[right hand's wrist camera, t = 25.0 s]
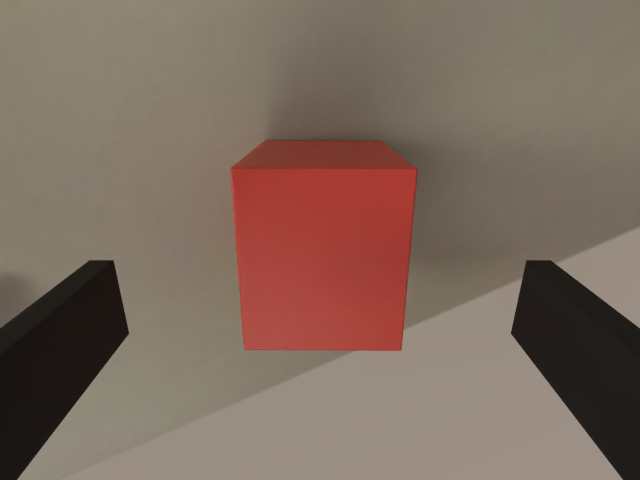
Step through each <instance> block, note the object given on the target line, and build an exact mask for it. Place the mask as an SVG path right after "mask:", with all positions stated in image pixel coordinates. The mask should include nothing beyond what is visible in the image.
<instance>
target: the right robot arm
mask: <svg viewBox="0 0 640 480" xmlns="http://www.w3.org/2000/svg"><path fill="white" fill-rule="evenodd" d="M128 334H129V331H128V326H127V322H126V317H125V312H124V308H123V303H122V298H121V293H120V289H119V284H118V279H117V275H116V270H115V265H114V260H89V261H88V262H87V263H85V264H84V265H83V266H81V267H80V268H79V269H78V270H76V271H75V272H74V273H72V274H71V275H70V276H68V277H67V278H66V279H64V280H63V281H62V282H61V283H59V284H58V285H57V286H55V287H54V288H53V289H51V290H50V291H49V292H47V293H46V294H45V295H43V296H42V297H41V298H40V299H38V300H37V301H36V302H34V303H33V304H32V305H30V306H29V307H28V308H26V309H25V310H24V311H22V312H21V313H20V314H19V315H17V316H16V317H15V318H13V319H12V320H11V321H9V322H8V323H7V324H5V325H4V326H3V327H2V328H0V480H17V479H18V478H19V476H20V475H21V474H22V472H23V471H24V470H25V468H26V467H27V466H28V465H29V463H30V462H31V461H32V459H33V458H34V457H35V455H36V454H37V453H38V452H39V450H40V449H41V448H42V446H43V445H44V444H45V442H46V441H47V440H48V439H49V437H50V436H51V435H52V433H53V432H54V431H55V429H56V428H57V427H58V425H59V424H60V423H61V422H62V420H63V419H64V418H65V416H66V415H67V414H68V412H69V411H70V410H71V409H72V407H73V406H74V405H75V403H76V402H77V401H78V399H79V398H80V397H81V395H82V394H83V393H84V392H85V390H86V389H87V388H88V386H89V385H90V384H91V382H92V381H93V380H94V379H95V377H96V376H97V375H98V373H99V372H100V371H101V369H102V368H103V367H104V366H105V364H106V363H107V362H108V360H109V359H110V358H111V356H112V355H113V354H114V352H115V351H116V350H117V349H118V347H119V346H120V345H121V343H122V342H123V341H124V339H125V338H126V337H127V336H128ZM511 334H512V336H513V337H514V338H515V339H516V341H517V342H518V343H519V345H520V346H521V347H522V349H523V350H524V351H525V352H526V354H527V355H528V356H529V358H530V359H531V360H532V362H533V363H534V364H535V365H536V367H537V368H538V369H539V371H540V372H541V373H542V375H543V376H544V377H545V379H546V380H547V381H548V382H549V384H550V385H551V386H552V388H553V389H554V390H555V392H556V393H557V394H558V395H559V397H560V398H561V399H562V401H563V402H564V403H565V405H566V406H567V407H568V409H569V410H570V411H571V412H572V414H573V415H574V416H575V418H576V419H577V420H578V422H579V423H580V424H581V425H582V427H583V428H584V429H585V431H586V432H587V433H588V435H589V436H590V437H591V439H592V440H593V441H594V442H595V444H596V445H597V446H598V448H599V449H600V450H601V452H602V453H603V454H604V455H605V457H606V458H607V459H608V461H609V462H610V463H611V465H612V466H613V467H614V468H615V470H616V471H617V472H618V474H619V475H620V476H621V478H622V479H623V480H640V328H638V327H637V326H636V325H635V324H633V323H632V322H631V321H629V320H628V319H627V318H625V317H624V316H623V315H621V314H620V313H619V312H617V311H616V310H615V309H614V308H612V307H611V306H610V305H608V304H607V303H606V302H604V301H603V300H602V299H600V298H599V297H598V296H596V295H595V294H594V293H593V292H591V291H590V290H589V289H587V288H586V287H585V286H583V285H582V284H581V283H579V282H578V281H577V280H576V279H574V278H573V277H572V276H570V275H569V274H568V273H566V272H565V271H564V270H562V269H561V268H560V267H559V266H557V265H556V264H555V263H553V262H552V261H551V260H526V265H525V270H524V275H523V279H522V284H521V289H520V293H519V298H518V303H517V307H516V312H515V317H514V322H513V326H512V331H511Z"/></svg>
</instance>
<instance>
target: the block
mask: <svg viewBox="0 0 640 480" xmlns="http://www.w3.org/2000/svg"><path fill="white" fill-rule="evenodd" d="M231 181H232V195H233V208H234V221H235V235H236V248H237V261H238V275H239V288H240V301H241V314H242V328H243V341H244V349H245V350H372V351H400V350H401V348H402V337H403V326H404V315H405V304H406V293H407V282H408V271H409V259H410V248H411V237H412V226H413V215H414V204H415V193H416V181H417V168H415V167H414V166H413V165H412V164H410V163H409V162H408V161H406V160H405V159H404V158H403V157H401V156H400V155H399V154H397V153H396V152H395V151H394V150H392V149H391V148H390V147H389V146H387V145H386V144H385V143H383V142H382V141H280V140H266V141H264V142H263V143H261V144H260V145H259V146H258V147H256V148H255V149H254V150H253V151H251V152H250V153H249V154H248V155H247V156H245V157H244V158H243V159H242V160H240V161H239V162H238V163H237V164H235V165H234V166H233V167H232V168H231Z"/></svg>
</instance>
